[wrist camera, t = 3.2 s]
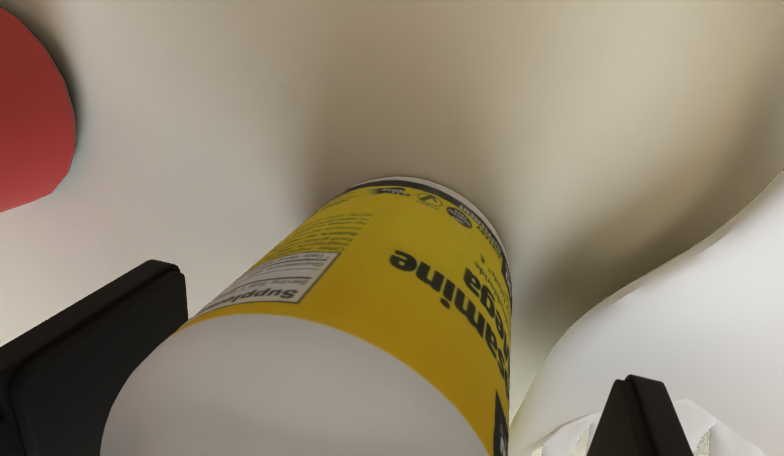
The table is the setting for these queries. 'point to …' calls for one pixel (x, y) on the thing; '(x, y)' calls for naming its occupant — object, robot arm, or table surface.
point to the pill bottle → (341, 342)
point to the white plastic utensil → (680, 345)
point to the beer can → (31, 117)
